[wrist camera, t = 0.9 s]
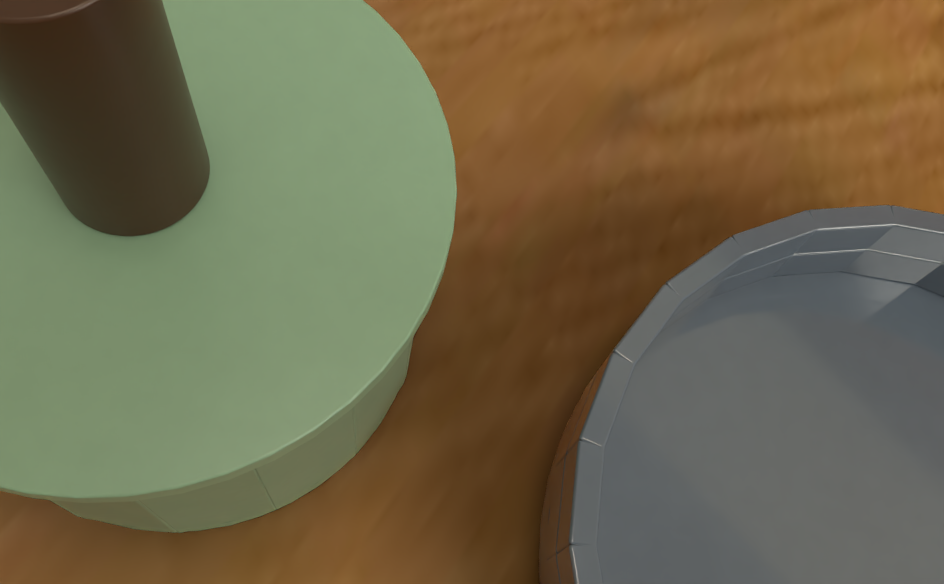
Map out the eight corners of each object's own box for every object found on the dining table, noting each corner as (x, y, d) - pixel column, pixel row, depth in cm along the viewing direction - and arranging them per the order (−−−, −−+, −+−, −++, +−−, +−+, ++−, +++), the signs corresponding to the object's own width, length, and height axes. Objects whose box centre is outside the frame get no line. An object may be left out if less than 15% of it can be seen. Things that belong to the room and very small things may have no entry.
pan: (1253, 1031, 20) (1454, 1109, 16) (497, 922, 19) (528, 979, 15) (1130, 325, 27) (1251, 268, 23) (571, 227, 26) (605, 152, 22)
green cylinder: (372, 567, 22) (374, 523, 16) (-109, 490, 21) (-294, 415, 15) (444, 165, 26) (467, 13, 20) (51, 95, 26) (-44, -81, 20)
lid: (397, 561, 16) (417, 477, 10) (-315, 448, 16) (-804, 279, 9) (488, 18, 21) (542, -276, 15) (-46, -81, 21) (-236, -432, 14)
